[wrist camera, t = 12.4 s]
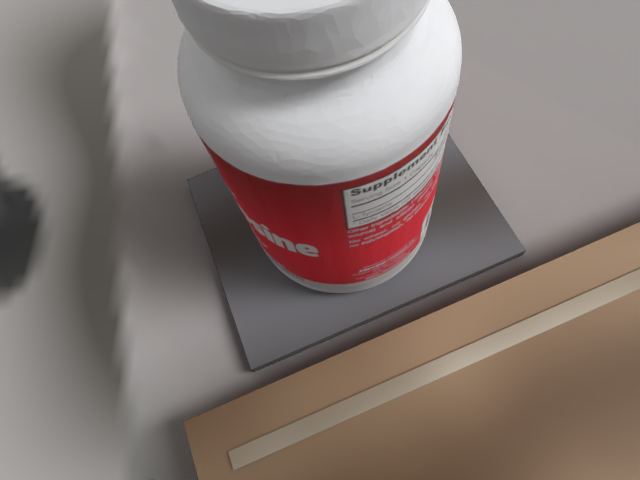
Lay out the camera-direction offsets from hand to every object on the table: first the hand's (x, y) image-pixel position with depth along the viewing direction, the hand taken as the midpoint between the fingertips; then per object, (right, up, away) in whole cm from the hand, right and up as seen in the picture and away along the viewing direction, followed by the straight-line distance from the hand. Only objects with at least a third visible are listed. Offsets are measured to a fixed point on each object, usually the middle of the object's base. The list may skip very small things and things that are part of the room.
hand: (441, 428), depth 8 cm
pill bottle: (-1, +4, +10) cm, 11 cm away
